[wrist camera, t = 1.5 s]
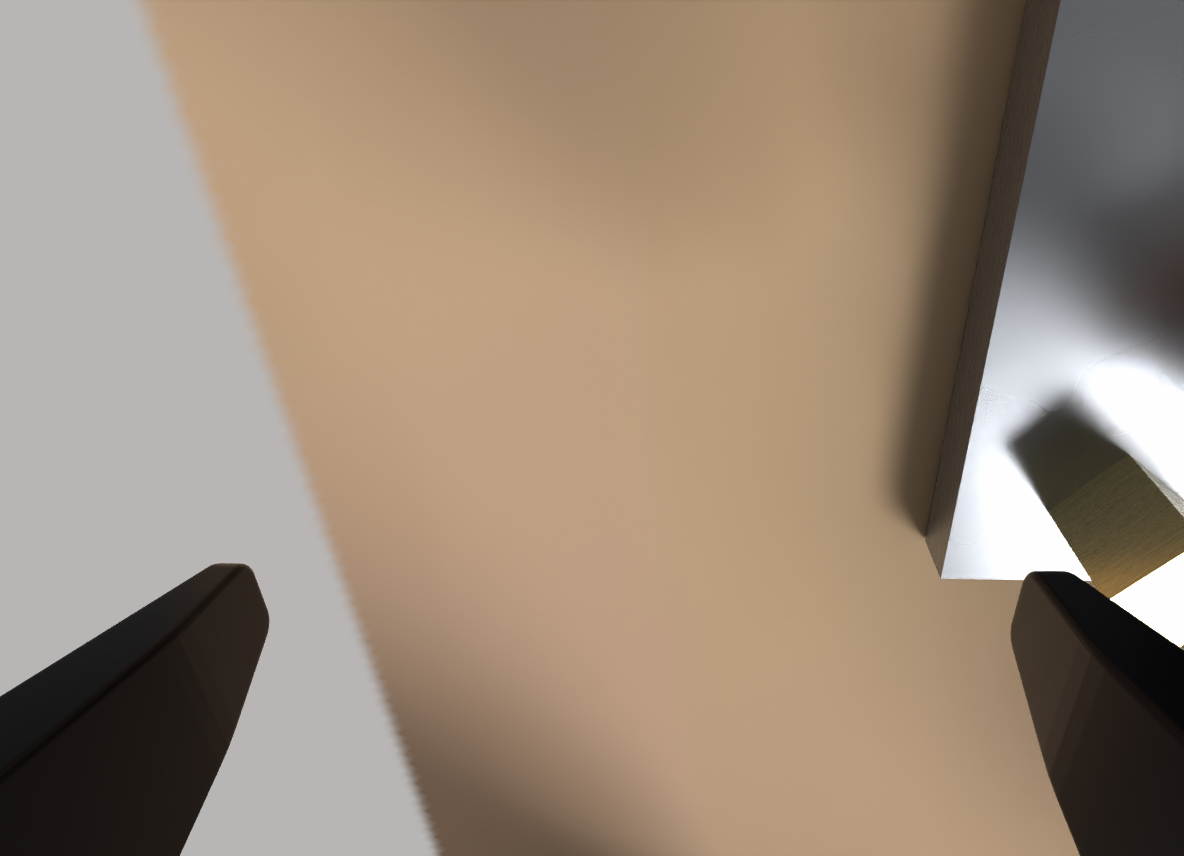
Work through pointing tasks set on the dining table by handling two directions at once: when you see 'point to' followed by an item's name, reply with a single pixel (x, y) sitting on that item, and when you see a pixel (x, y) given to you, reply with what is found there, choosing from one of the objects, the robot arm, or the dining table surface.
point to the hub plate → (1078, 321)
